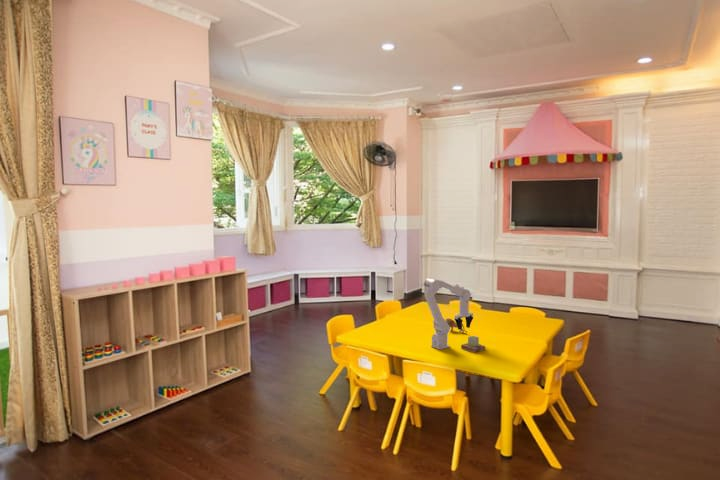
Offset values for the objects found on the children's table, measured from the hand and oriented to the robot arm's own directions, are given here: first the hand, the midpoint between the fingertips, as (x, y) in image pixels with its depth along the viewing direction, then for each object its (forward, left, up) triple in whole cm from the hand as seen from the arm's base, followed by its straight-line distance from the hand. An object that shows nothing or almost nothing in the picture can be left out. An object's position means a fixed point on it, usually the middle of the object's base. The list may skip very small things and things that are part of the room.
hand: (463, 328), depth 284 cm
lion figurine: (+14, +21, -10) cm, 27 cm away
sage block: (-4, -12, -7) cm, 14 cm away
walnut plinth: (-5, -12, -10) cm, 16 cm away
